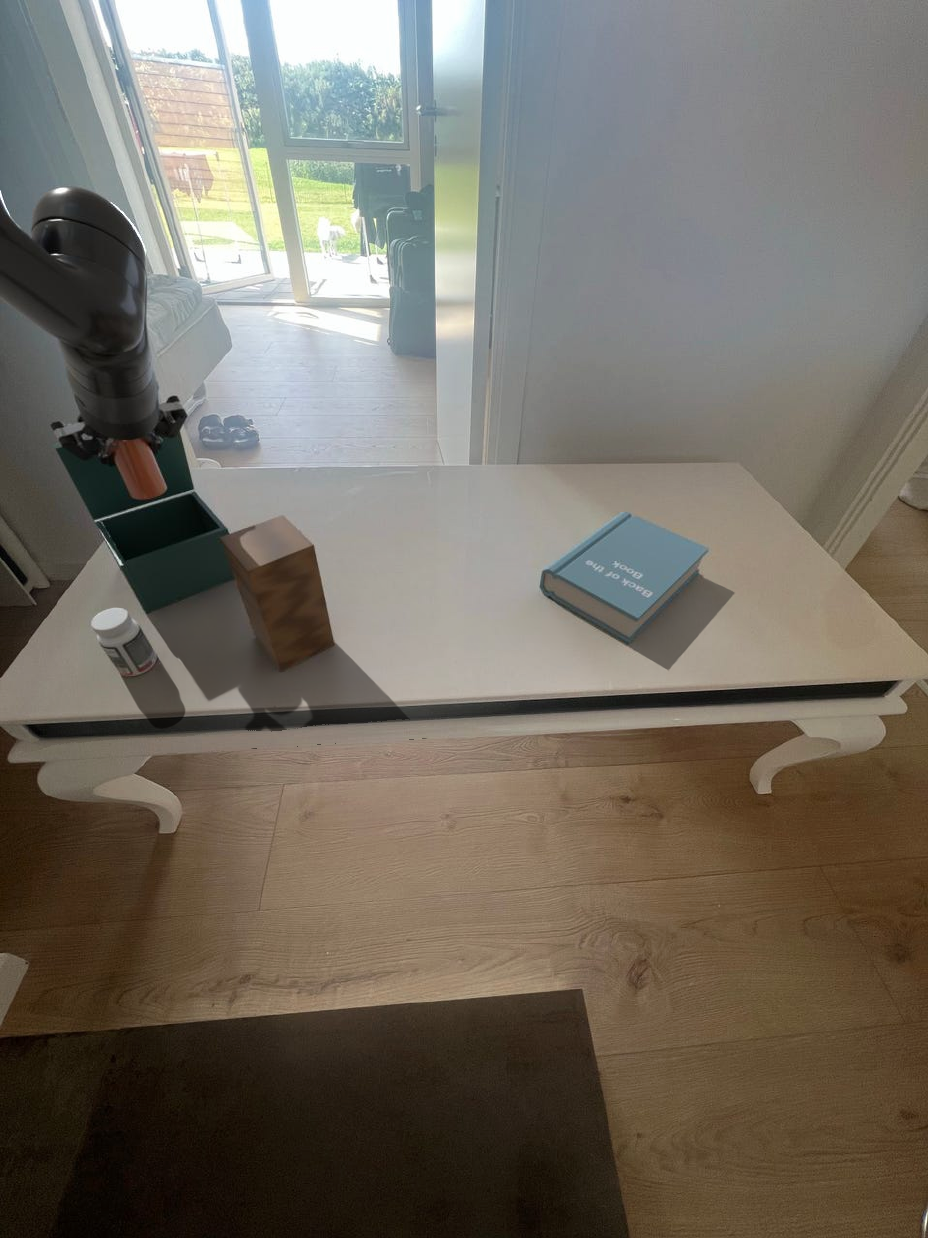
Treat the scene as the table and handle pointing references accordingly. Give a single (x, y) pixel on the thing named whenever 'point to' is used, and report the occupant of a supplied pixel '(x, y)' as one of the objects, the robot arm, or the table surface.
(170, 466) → the lid
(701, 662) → the table surface
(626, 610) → the book
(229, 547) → the stand
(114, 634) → the pill bottle
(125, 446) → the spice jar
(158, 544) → the chest
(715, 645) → the table surface
